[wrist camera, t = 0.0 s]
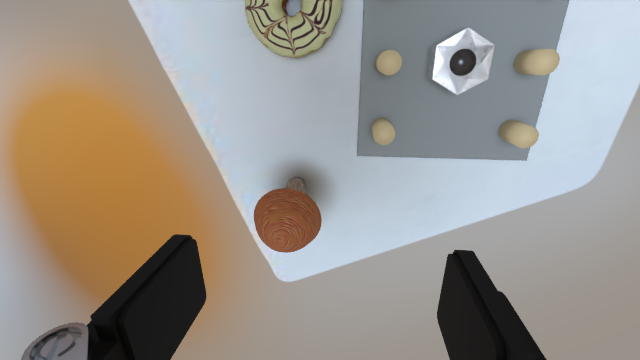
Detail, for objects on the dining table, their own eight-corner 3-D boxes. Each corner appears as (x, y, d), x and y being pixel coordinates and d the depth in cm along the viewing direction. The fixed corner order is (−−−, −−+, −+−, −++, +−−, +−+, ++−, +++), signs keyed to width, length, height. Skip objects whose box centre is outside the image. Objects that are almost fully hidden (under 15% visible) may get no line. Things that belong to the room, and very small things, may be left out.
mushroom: (335, 202, 45) (327, 266, 31) (287, 216, 46) (258, 282, 33) (316, 153, 42) (298, 199, 28) (266, 170, 44) (225, 221, 30)
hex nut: (432, 30, 35) (439, 27, 32) (486, 29, 34) (498, 26, 31) (424, 92, 37) (430, 94, 35) (474, 92, 37) (485, 95, 34)
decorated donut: (359, 2, 35) (360, -4, 31) (300, 75, 39) (295, 76, 35) (291, -69, 33) (284, -84, 30) (236, 14, 37) (224, 10, 33)
